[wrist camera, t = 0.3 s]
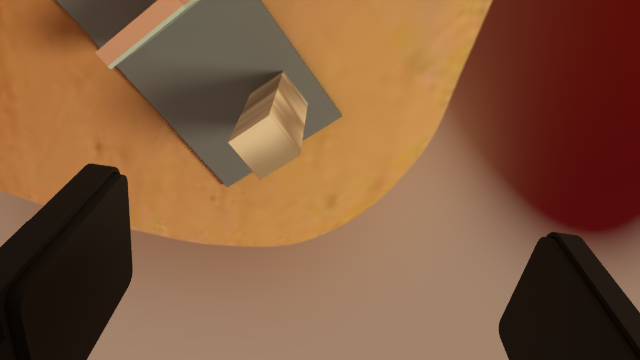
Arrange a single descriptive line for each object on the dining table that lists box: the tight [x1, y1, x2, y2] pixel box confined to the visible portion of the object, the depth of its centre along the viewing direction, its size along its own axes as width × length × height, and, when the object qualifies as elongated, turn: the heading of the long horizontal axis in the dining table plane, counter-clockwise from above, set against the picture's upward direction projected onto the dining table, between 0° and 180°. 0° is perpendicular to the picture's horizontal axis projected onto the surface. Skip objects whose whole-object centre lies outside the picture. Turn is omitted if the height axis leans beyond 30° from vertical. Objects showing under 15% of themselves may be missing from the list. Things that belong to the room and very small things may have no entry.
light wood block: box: [228, 71, 308, 179], centre depth 41 cm, size 4×4×11 cm
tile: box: [95, 0, 200, 69], centre depth 38 cm, size 2×8×8 cm, turn 125°
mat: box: [56, 0, 342, 187], centre depth 43 cm, size 26×15×1 cm, turn 35°
